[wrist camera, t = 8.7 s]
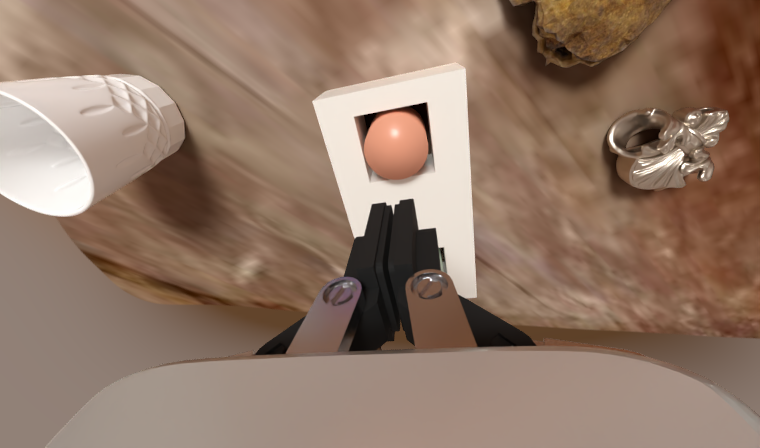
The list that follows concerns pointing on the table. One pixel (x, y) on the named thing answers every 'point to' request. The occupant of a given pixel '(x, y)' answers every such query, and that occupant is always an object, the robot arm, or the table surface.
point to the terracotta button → (396, 143)
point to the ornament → (666, 146)
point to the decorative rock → (589, 27)
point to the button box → (436, 177)
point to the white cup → (81, 138)
